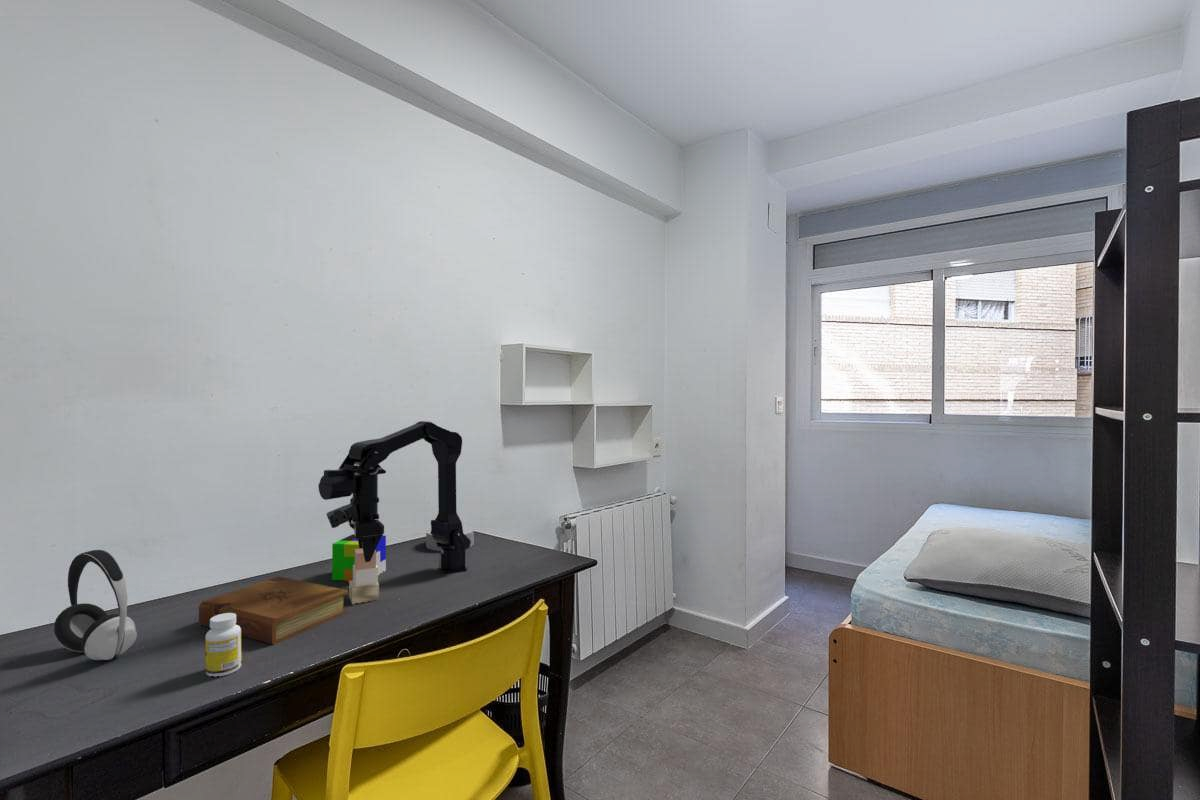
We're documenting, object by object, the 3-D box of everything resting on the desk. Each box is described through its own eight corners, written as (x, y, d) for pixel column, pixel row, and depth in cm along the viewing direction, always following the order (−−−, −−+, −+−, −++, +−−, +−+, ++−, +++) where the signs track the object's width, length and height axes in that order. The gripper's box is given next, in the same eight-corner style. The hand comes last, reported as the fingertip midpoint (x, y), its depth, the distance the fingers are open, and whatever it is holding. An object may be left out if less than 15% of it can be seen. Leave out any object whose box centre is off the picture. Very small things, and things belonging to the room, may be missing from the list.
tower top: (374, 577, 141) (374, 561, 141) (377, 583, 137) (378, 567, 137) (352, 580, 139) (353, 564, 139) (355, 587, 134) (356, 570, 134)
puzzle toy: (385, 570, 159) (385, 535, 159) (367, 582, 149) (367, 545, 149) (352, 569, 160) (352, 534, 160) (332, 580, 150) (332, 543, 150)
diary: (198, 628, 121) (198, 602, 121) (278, 599, 138) (278, 576, 138) (272, 647, 112) (272, 619, 112) (347, 614, 129) (347, 589, 129)
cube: (373, 562, 140) (373, 546, 140) (375, 567, 137) (376, 551, 137) (354, 565, 138) (354, 549, 138) (356, 570, 135) (356, 553, 134)
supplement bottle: (216, 663, 104) (216, 611, 104) (247, 662, 105) (247, 610, 104) (198, 678, 99) (198, 623, 99) (230, 677, 99) (230, 622, 99)
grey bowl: (453, 537, 197) (453, 522, 197) (483, 544, 188) (483, 529, 188) (416, 546, 184) (416, 531, 184) (446, 554, 175) (446, 538, 175)
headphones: (149, 655, 107) (149, 551, 107) (94, 675, 99) (94, 563, 99) (96, 636, 115) (96, 539, 115) (42, 653, 107) (41, 550, 107)
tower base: (374, 592, 142) (374, 577, 142) (378, 600, 137) (379, 584, 137) (349, 597, 139) (349, 581, 139) (352, 605, 134) (352, 588, 133)
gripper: (326, 490, 141) (326, 551, 142) (331, 503, 125) (331, 572, 125) (373, 486, 147) (373, 545, 147) (384, 499, 131) (384, 565, 131)
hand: (365, 556), depth 138 cm, fingers open, 9 cm apart
